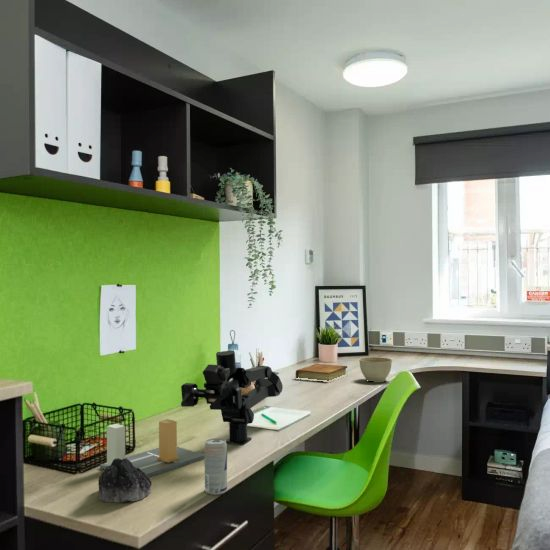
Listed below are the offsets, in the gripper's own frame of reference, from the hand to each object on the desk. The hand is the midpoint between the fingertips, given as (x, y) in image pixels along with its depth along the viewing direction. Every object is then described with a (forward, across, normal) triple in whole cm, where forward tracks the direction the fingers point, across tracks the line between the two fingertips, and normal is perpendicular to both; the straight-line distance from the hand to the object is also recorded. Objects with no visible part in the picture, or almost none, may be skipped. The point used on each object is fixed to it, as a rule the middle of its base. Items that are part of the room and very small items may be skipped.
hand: (195, 406), depth 155 cm
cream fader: (+13, -18, +13) cm, 26 cm away
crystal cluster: (+26, -5, +13) cm, 30 cm away
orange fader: (+4, -8, +15) cm, 17 cm away
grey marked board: (+5, -12, +16) cm, 20 cm away
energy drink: (+16, +14, +14) cm, 26 cm away
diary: (-140, -13, +37) cm, 145 cm away
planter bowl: (-140, +15, +36) cm, 146 cm away
